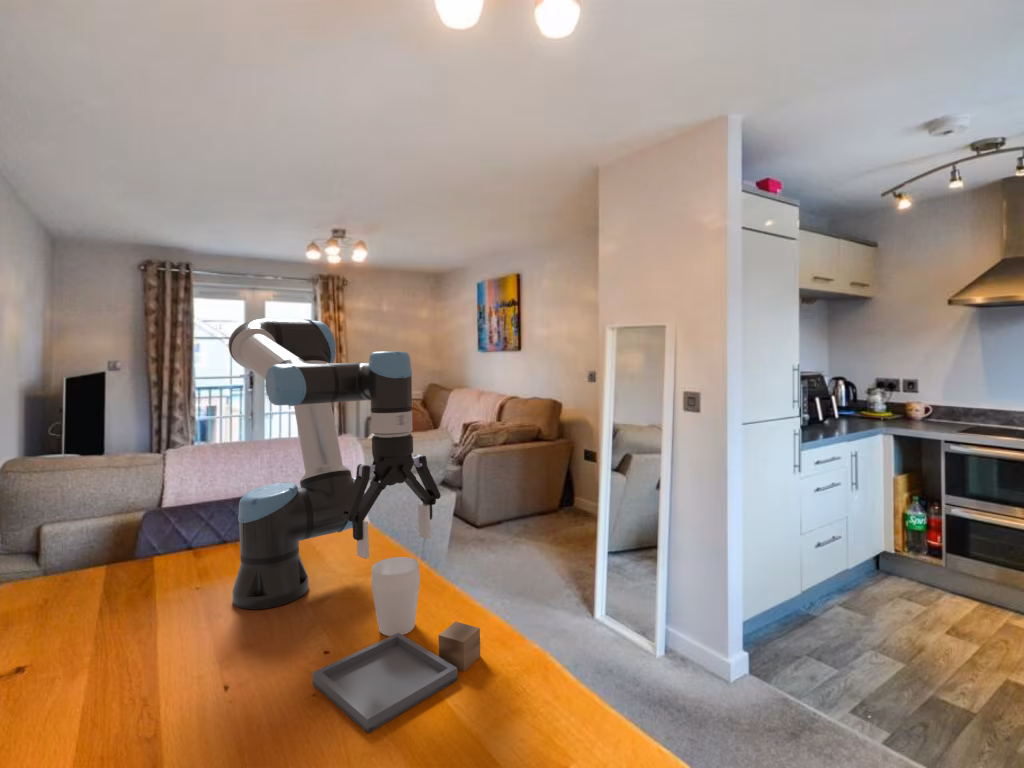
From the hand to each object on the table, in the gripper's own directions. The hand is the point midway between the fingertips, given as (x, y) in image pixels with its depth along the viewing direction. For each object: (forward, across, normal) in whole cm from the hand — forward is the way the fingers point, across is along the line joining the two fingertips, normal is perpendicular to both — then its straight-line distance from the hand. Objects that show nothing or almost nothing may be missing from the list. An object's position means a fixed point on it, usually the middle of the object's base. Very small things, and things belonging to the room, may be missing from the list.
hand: (395, 546), depth 98 cm
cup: (+16, 0, 0) cm, 16 cm away
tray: (+16, -11, -13) cm, 23 cm away
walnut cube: (+16, +1, -17) cm, 23 cm away
